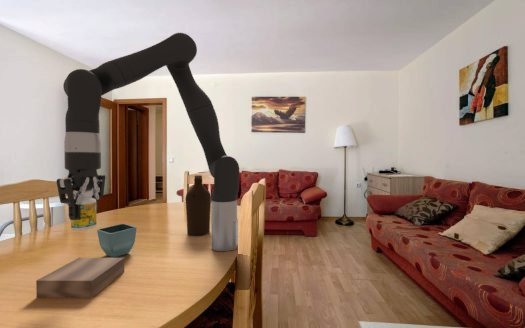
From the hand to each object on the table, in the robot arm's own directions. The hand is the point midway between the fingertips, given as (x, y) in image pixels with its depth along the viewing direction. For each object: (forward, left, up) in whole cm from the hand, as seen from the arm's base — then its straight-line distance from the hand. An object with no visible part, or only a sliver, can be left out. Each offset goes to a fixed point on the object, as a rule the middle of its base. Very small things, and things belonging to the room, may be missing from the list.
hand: (84, 216), depth 63 cm
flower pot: (+3, -19, -18) cm, 26 cm away
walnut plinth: (0, 0, -17) cm, 17 cm away
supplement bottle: (0, 0, -3) cm, 3 cm away
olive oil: (-18, -43, -18) cm, 50 cm away
